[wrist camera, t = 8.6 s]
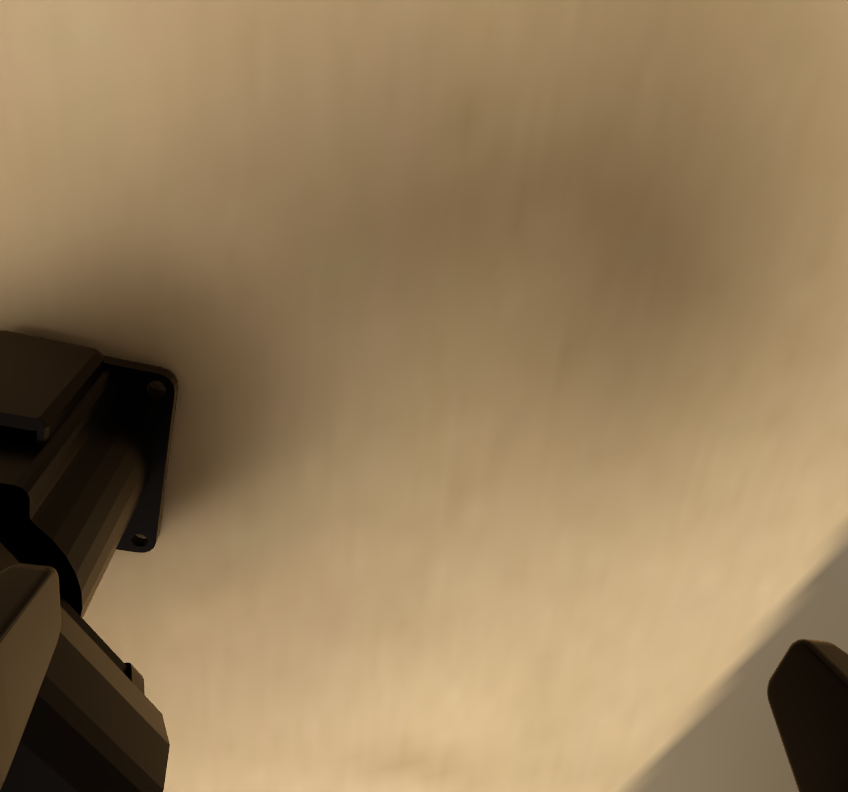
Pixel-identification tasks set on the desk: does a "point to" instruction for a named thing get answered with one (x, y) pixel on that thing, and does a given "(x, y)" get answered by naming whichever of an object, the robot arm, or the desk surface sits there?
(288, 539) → the desk surface
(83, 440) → the robot arm
